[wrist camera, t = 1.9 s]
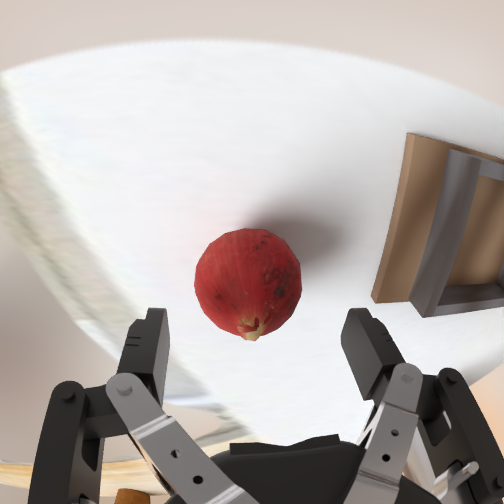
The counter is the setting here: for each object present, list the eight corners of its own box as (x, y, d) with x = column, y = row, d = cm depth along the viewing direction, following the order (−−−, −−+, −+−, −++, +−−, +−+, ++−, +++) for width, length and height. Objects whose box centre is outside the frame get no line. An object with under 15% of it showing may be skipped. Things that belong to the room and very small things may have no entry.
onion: (257, 190, 19) (279, 254, 12) (303, 258, 21) (339, 340, 14) (181, 241, 20) (162, 324, 13) (233, 300, 22) (239, 390, 15)
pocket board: (542, 174, 19) (566, 187, 16) (506, 286, 25) (524, 304, 22) (407, 132, 18) (437, 142, 15) (370, 296, 23) (388, 324, 20)
